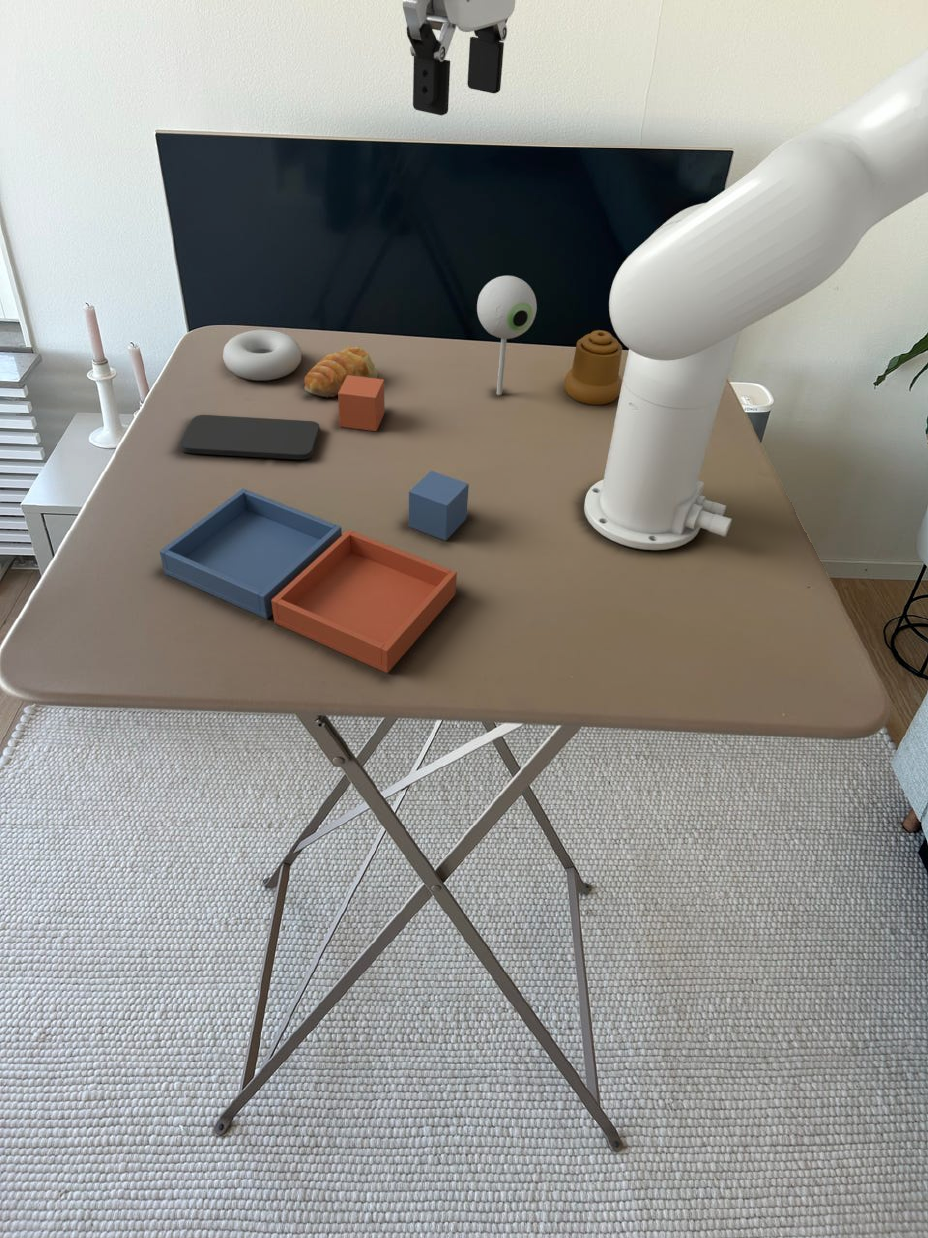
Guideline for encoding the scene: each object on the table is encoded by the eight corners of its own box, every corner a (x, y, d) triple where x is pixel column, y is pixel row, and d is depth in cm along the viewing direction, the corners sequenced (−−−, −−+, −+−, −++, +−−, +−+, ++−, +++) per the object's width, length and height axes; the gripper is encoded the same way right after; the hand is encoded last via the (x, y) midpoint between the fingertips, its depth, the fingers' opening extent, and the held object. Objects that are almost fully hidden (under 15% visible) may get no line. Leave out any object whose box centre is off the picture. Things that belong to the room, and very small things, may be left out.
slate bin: (342, 548, 89) (341, 526, 87) (266, 619, 81) (263, 596, 79) (246, 510, 92) (242, 487, 91) (164, 573, 84) (159, 551, 83)
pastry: (328, 407, 108) (326, 378, 106) (291, 388, 112) (289, 360, 109) (382, 381, 114) (381, 353, 111) (345, 364, 117) (344, 336, 114)
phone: (194, 413, 104) (321, 421, 104) (195, 419, 105) (321, 427, 105) (177, 447, 99) (310, 455, 99) (178, 453, 99) (311, 461, 99)
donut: (280, 392, 111) (315, 357, 118) (277, 367, 108) (313, 332, 115) (210, 376, 113) (248, 342, 120) (205, 351, 110) (245, 318, 117)
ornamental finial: (622, 383, 117) (617, 411, 111) (567, 375, 118) (559, 402, 112) (633, 325, 111) (628, 351, 106) (575, 317, 112) (567, 342, 107)
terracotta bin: (455, 594, 84) (457, 572, 83) (387, 673, 76) (387, 651, 74) (349, 551, 88) (348, 529, 86) (273, 622, 80) (271, 600, 78)
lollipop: (488, 412, 110) (497, 294, 99) (461, 385, 114) (468, 270, 104) (536, 401, 112) (551, 285, 102) (509, 376, 117) (520, 262, 106)
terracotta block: (384, 412, 108) (384, 379, 105) (376, 431, 105) (375, 397, 102) (348, 408, 109) (347, 374, 106) (339, 426, 105) (337, 392, 102)
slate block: (466, 518, 93) (469, 483, 90) (445, 541, 90) (447, 505, 87) (430, 505, 95) (431, 470, 92) (408, 526, 92) (408, 491, 89)
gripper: (458, -148, 60) (446, 130, 72) (562, -151, 71) (537, 90, 83) (366, -159, 62) (369, 112, 74) (480, -159, 74) (467, 76, 85)
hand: (457, 100), depth 79 cm, fingers open, 9 cm apart
